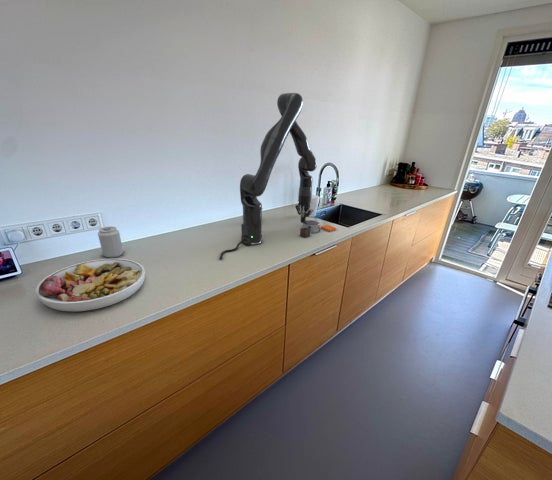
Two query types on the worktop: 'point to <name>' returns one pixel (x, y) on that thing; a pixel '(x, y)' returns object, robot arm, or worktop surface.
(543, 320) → the worktop surface
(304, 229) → the walnut block
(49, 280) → the bowl
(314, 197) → the foam cup
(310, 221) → the steel pot
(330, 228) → the orange cloth
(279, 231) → the worktop surface
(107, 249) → the can
